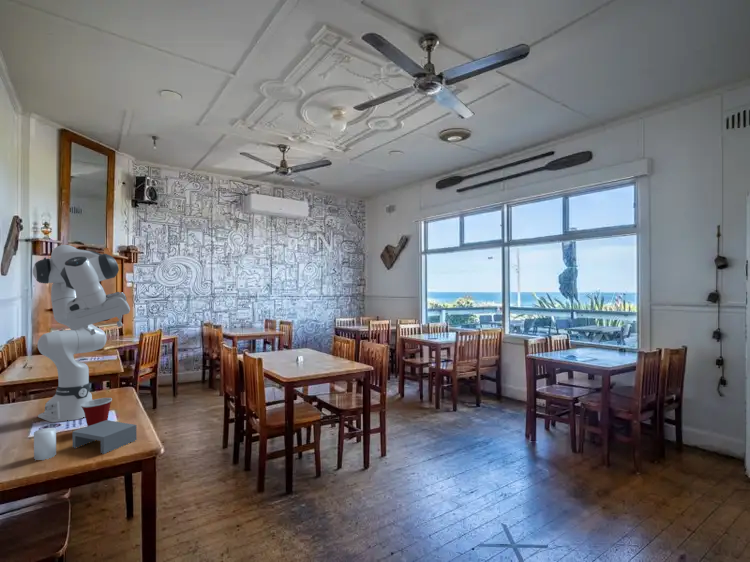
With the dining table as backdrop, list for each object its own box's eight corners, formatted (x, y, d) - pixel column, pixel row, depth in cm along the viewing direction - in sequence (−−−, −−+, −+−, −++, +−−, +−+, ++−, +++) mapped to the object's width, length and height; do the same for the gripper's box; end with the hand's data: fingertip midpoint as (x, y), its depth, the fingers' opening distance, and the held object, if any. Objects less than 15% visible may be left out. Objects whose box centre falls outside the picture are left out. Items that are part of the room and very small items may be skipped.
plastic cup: (84, 427, 172) (84, 398, 172) (114, 424, 176) (114, 396, 176) (76, 436, 161) (76, 406, 161) (109, 433, 166) (109, 403, 165)
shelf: (72, 447, 151) (72, 431, 151) (106, 435, 163) (106, 420, 163) (103, 454, 145) (103, 437, 145) (136, 440, 158) (136, 424, 158)
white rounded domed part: (29, 459, 141) (29, 432, 141) (48, 452, 147) (48, 427, 147) (41, 461, 139) (41, 435, 139) (60, 454, 145) (60, 429, 145)
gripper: (123, 287, 164) (136, 318, 169) (63, 304, 156) (78, 335, 161) (122, 292, 158) (135, 324, 164) (60, 310, 150) (76, 342, 156)
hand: (107, 330), depth 162 cm, fingers open, 8 cm apart
